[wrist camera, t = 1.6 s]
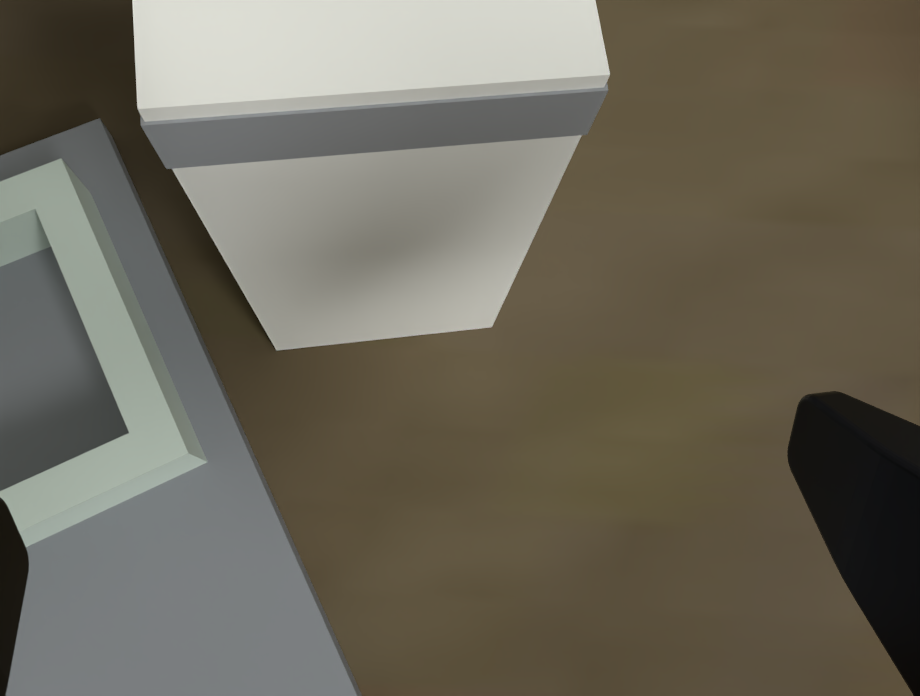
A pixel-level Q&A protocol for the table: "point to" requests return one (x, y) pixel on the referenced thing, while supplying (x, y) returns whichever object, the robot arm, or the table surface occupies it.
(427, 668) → the table surface
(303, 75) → the slim case
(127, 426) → the docking stand
